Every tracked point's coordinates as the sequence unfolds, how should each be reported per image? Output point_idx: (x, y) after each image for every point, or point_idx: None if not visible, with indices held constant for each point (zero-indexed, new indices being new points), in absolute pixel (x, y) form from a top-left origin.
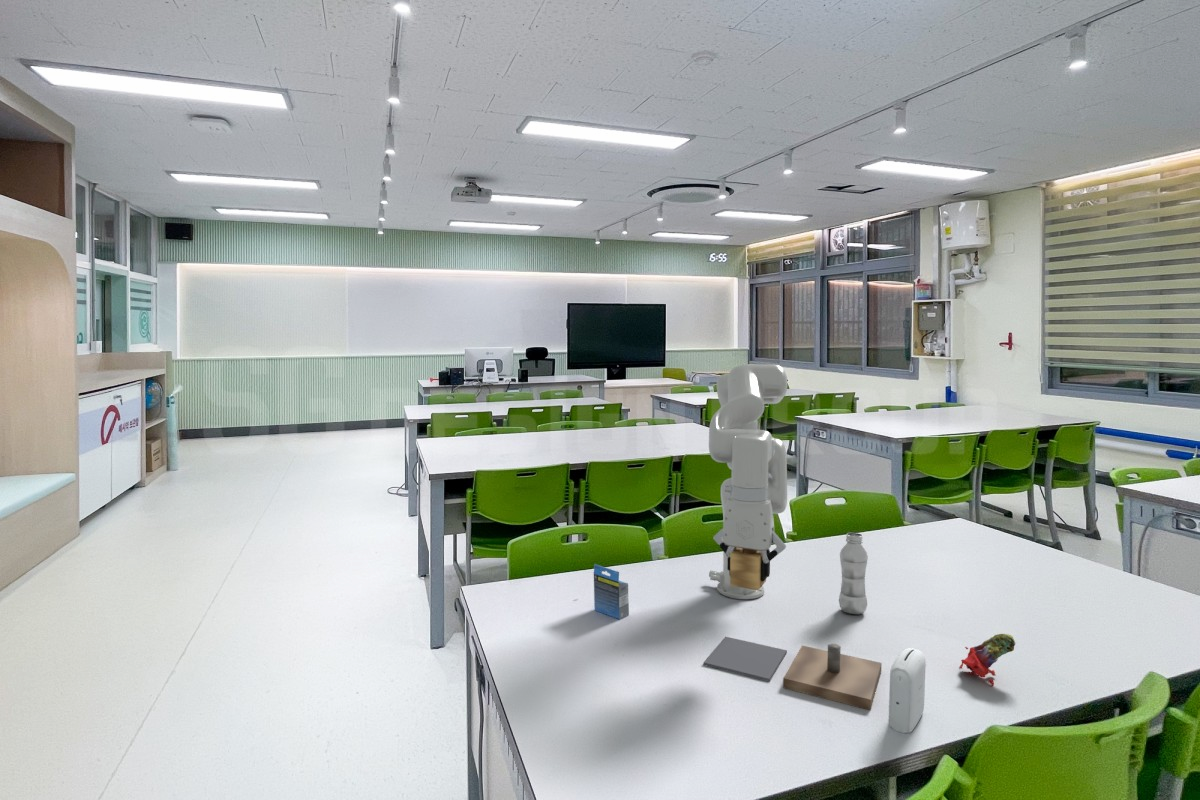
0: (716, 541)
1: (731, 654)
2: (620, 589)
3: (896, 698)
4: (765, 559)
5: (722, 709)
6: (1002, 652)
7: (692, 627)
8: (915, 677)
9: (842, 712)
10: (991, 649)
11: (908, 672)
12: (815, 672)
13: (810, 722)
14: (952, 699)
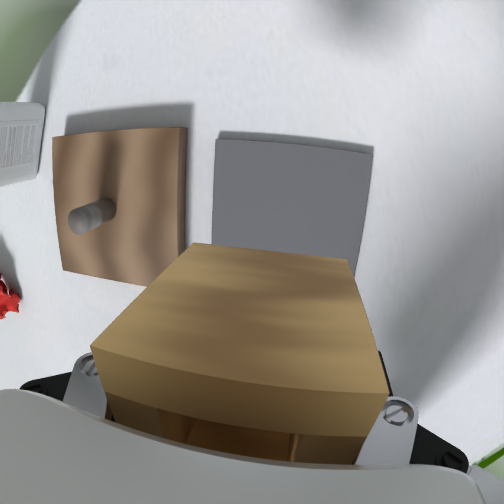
0: (491, 478)
1: (321, 217)
2: None
3: (7, 102)
4: (95, 373)
5: (280, 4)
6: None
7: (419, 319)
8: None
9: (92, 104)
10: None
11: None
12: (130, 183)
13: (130, 46)
14: (11, 223)
